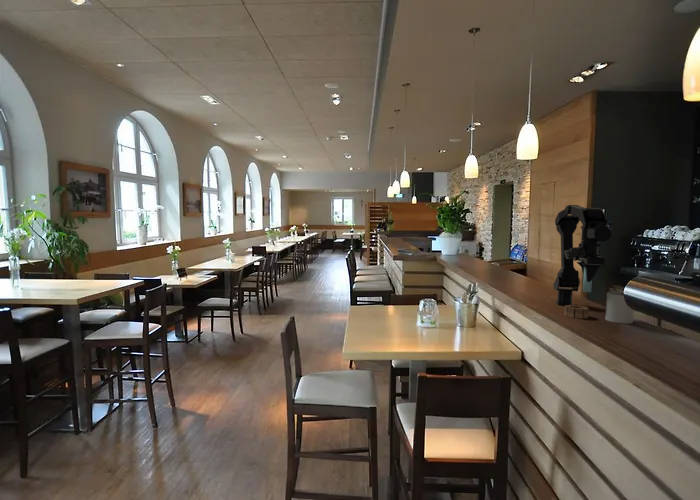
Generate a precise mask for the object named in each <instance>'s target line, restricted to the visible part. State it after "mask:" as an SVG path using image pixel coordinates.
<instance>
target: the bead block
mask: <svg viewBox="0 0 700 500" xmlns="http://www.w3.org/2000/svg"><path fill="white" fill-rule="evenodd" d="M589 308H590V307H587V306H583V305H577V304H574V305H564V316H565V317H570V318H575V319H589V312H590V311H589V310H590V309H589Z"/></svg>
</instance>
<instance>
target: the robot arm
mask: <svg viewBox="0 0 700 500" xmlns="http://www.w3.org/2000/svg"><path fill="white" fill-rule="evenodd" d="M579 222H580V223H581V224H582V225H581V227H580V229H581V239H580V240H581V242H579V243H578V246H574V238H573V237H574V235H573V234H574V233H575V232H576V230H577V228H578V224H579ZM608 223H609V222H608V220H607V216H606V215H605V212H604V209H602V208H601V207H584V206H581V205H579V204H568V205H566V206H565V207H564V209H563V210H561V211H560V212H558V213H557V215H556V217H555V218H554V225H555V228H556V229H555V230H556V231H557V233H558V234H559V235H560V262H561V263H560V267H561V268H560V269H559V271H558V272H557V276H556V278H555V280H554V282H553V284H552V285H553V290H555V291H557V300H555V301H554V302H555V303H556V305H560V306H565V305H575V304H574V303H573V293H574V292H578V291H579V287H580V283H581V280H580V277H579V271H578V270H576V269H575V266H574V262H575V261H576V263H577V265H579V266H580V267H581V272H582V275H583V277H584V267H585V268H586V278H587V282H591V280H592V281H593V278H594V277H595V275H596V274H597V272H598V270H599V269H600V268H601V266H604V265H605V266H607V259H606V258H605V257H604V256H600V254H599V248H600V247H601V242H602V243H604V242H607V241H608V240H610V239H611V237H612V232H611V229H610V227H608ZM599 242H600V243H599Z"/></svg>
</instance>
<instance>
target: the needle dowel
mask: <svg viewBox="0 0 700 500" xmlns="http://www.w3.org/2000/svg"><path fill="white" fill-rule="evenodd" d="M592 281H593V279H592V280H591V282H587V278H586V268H585V267H584V276H583V281H582V283H583V284H582V292H583V293H592V283H593V282H592Z"/></svg>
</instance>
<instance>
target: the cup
mask: <svg viewBox="0 0 700 500" xmlns="http://www.w3.org/2000/svg"><path fill="white" fill-rule="evenodd" d="M624 293H625V292H621V291H608V292H606V302H605V303H606V304H605V305H606V306H605V317H604V318H605V320H606V321H608V322H611V323H612V322H613V323H616V324H617V323H618V324H633V322H634V310H635V309H634V310H632V309H631V308H629V307H628V306H627V304H626V302H625V300H624Z"/></svg>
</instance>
